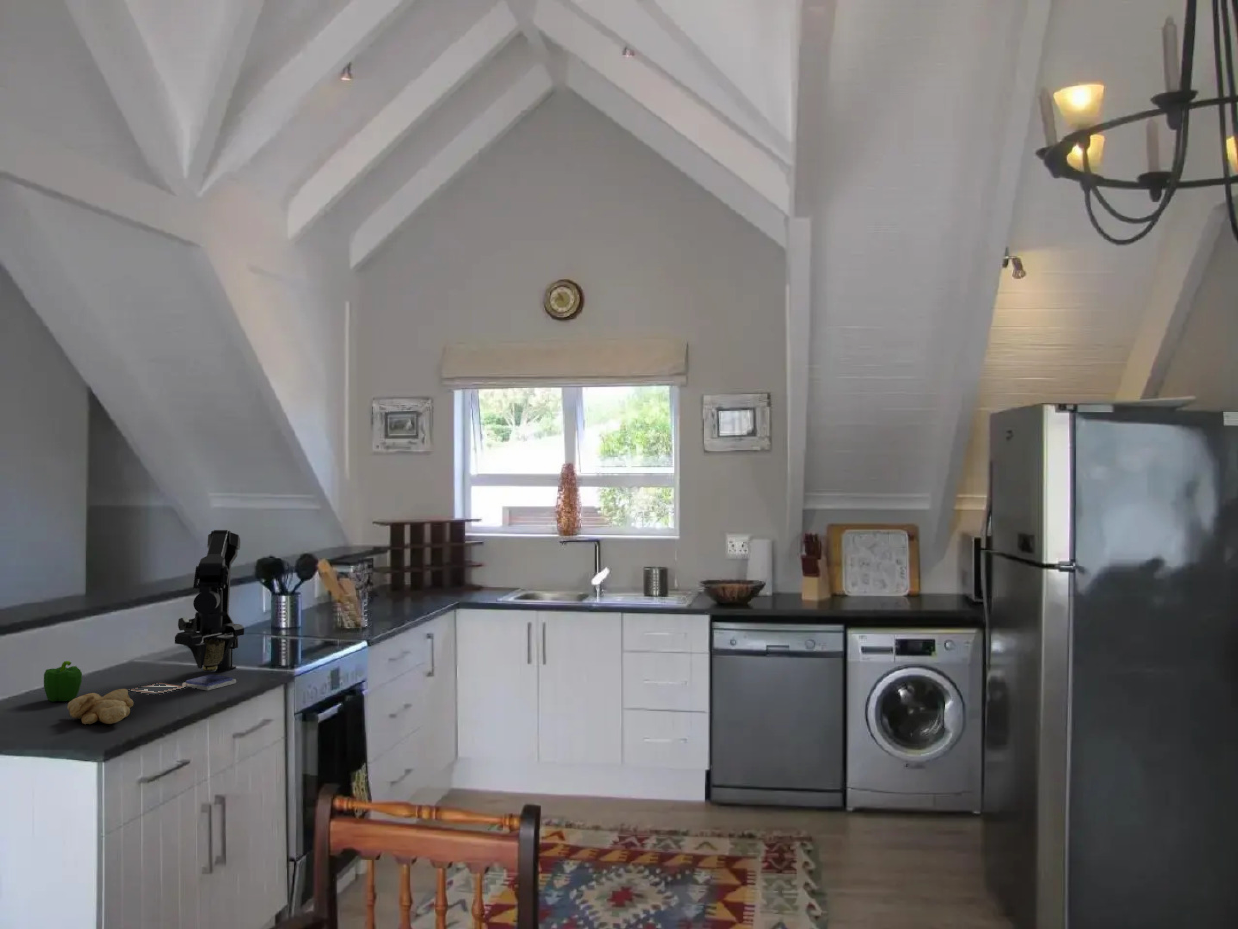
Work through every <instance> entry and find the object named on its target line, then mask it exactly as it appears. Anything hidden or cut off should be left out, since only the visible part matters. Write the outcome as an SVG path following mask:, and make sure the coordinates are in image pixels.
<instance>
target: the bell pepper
mask: <svg viewBox="0 0 1238 929" xmlns="http://www.w3.org/2000/svg"><path fill="white" fill-rule="evenodd" d="M71 664H72V662H71V661H70V660H66V661H63V662H62V663H61V666H59V667H57V668H47V669H45V671H44V673H43V687H44V693H45V696H46V699H47V700H48V701H50V702H51V703H52V702H56V701H58V702H70V701H72V700H73V699H75V698H77V696H78V695H79V692H80V689H81V686H82V682H83V681H82V680H83V673H82V671H81V669H79V667H78V666H77V665H71ZM67 666H69V667H67ZM56 703H57V702H56Z"/></svg>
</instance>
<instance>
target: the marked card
mask: <svg viewBox="0 0 1238 929" xmlns="http://www.w3.org/2000/svg"><path fill="white" fill-rule="evenodd" d="M158 683H159V684H165V685H166V686H160V685H159V686H154V685H155V683H151V684H152V685H151V684H148V685H144V686H143V685H142V687H177V688H173V689H168V690H164V691H158V692H154V691H148V689H144V690H135V689H138V687H135V689H134V688H131V691H136V692H141V693H140V694H142V693H163V694H165V693H164V692H167V691H171V692H173V691H172V690H176V689H180V690H182V689H181V688H184V686H183V685H176V684H172V683H171V684H169V683H163V682H156V684H158ZM184 689H185V688H184ZM176 691H177V690H176ZM136 692H135V693H136ZM167 693H168V692H167Z"/></svg>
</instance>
